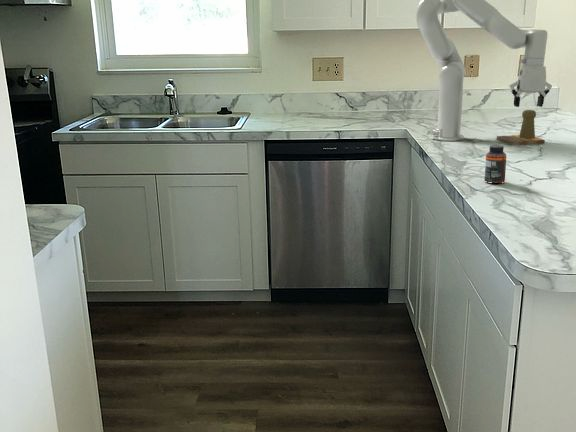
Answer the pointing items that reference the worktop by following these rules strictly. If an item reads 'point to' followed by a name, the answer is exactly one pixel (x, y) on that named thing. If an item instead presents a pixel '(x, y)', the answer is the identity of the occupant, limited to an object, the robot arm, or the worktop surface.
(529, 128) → the cork
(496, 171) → the supplement bottle
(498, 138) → the board
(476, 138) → the worktop surface
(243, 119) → the worktop surface
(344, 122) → the worktop surface
